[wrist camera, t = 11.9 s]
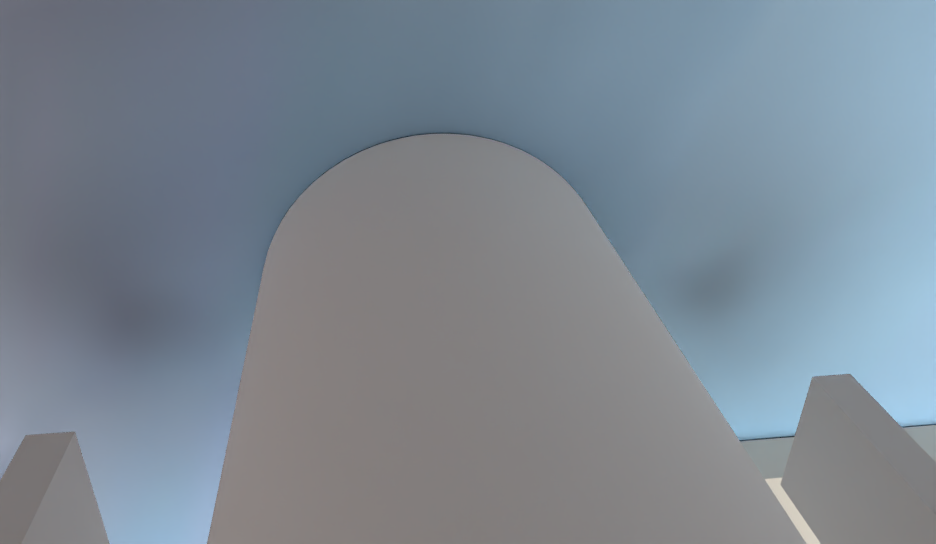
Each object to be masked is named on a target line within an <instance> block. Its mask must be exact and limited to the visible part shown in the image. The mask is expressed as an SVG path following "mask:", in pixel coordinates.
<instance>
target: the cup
mask: <svg viewBox="0 0 936 544" xmlns="http://www.w3.org/2000/svg"><path fill="white" fill-rule="evenodd" d="M207 544H806V542H805V541H804V539H803V537H802V536H801V534H800V533H799V531H798V530H797V528H796V527H795V525H794V524H793V522H792V521H791V519H790V518H789V516H788V514H787V513H786V511H785V510H784V508H783V507H782V505H781V504H780V502H779V501H778V499H777V498H776V496H775V495H774V493H773V491H772V490H771V488H770V487H769V485H768V484H767V482H766V481H765V479H764V478H763V476H762V475H761V473H760V472H759V470H758V468H757V467H756V465H755V464H754V462H753V461H752V459H751V458H750V456H749V455H748V453H747V452H746V450H745V448H744V447H743V445H742V444H741V442H740V441H739V439H738V438H737V436H736V435H735V433H734V432H733V430H732V429H731V427H730V425H729V424H728V422H727V421H726V419H725V418H724V416H723V415H722V413H721V412H720V410H719V409H718V407H717V406H716V404H715V402H714V401H713V399H712V398H711V396H710V395H709V393H708V392H707V390H706V389H705V387H704V386H703V384H702V383H701V381H700V379H699V378H698V376H697V375H696V373H695V372H694V370H693V369H692V367H691V366H690V364H689V363H688V361H687V359H686V358H685V356H684V355H683V353H682V352H681V350H680V349H679V347H678V346H677V344H676V343H675V341H674V340H673V338H672V336H671V335H670V333H669V332H668V330H667V329H666V327H665V326H664V324H663V323H662V321H661V320H660V318H659V317H658V315H657V313H656V312H655V310H654V309H653V307H652V306H651V304H650V303H649V301H648V300H647V298H646V297H645V295H644V294H643V292H642V290H641V289H640V287H639V286H638V284H637V283H636V281H635V280H634V278H633V277H632V275H631V274H630V272H629V271H628V269H627V267H626V266H625V264H624V263H623V261H622V260H621V258H620V257H619V255H618V254H617V252H616V251H615V249H614V247H613V246H612V244H611V243H610V241H609V240H608V238H607V237H606V235H605V234H604V232H603V231H602V229H601V228H600V226H599V224H598V223H597V221H596V220H595V218H594V217H593V215H592V214H591V212H590V211H589V209H588V208H587V206H586V205H585V203H584V202H583V200H582V199H581V198H580V196H579V195H578V194H577V192H576V191H575V190H574V189H573V188H572V187H571V186H570V185H569V183H568V182H567V181H566V180H565V179H564V178H563V177H561V176H560V175H559V174H558V173H557V172H555V171H554V170H553V169H552V168H551V167H549V166H548V165H546V164H545V163H543V162H542V161H540V160H539V159H537V158H536V157H534V156H532V155H530V154H528V153H526V152H524V151H522V150H520V149H517V148H515V147H513V146H510V145H508V144H505V143H501V142H498V141H495V140H491V139H487V138H482V137H477V136H471V135H461V134H426V135H416V136H410V137H405V138H400V139H395V140H392V141H389V142H385V143H382V144H378V145H376V146H373V147H371V148H368V149H366V150H363V151H361V152H359V153H357V154H355V155H353V156H351V157H349V158H347V159H345V160H343V161H342V162H340V163H339V164H337V165H336V166H334V167H333V168H331V169H330V170H328V171H327V172H325V173H324V174H323V175H322V176H321V177H319V178H318V179H317V180H316V181H314V182H313V183H312V184H311V185H310V186H309V187H308V188H307V189H306V190H305V191H304V192H303V193H302V194H301V195H300V196H299V198H298V199H297V200H296V201H295V202H294V204H293V205H292V206H291V207H290V209H289V210H288V212H287V213H286V215H285V216H284V218H283V219H282V221H281V223H280V225H279V227H278V229H277V231H276V233H275V235H274V237H273V239H272V242H271V244H270V247H269V250H268V252H267V256H266V260H265V264H264V269H263V273H262V278H261V283H260V288H259V293H258V298H257V303H256V308H255V312H254V317H253V322H252V327H251V332H250V337H249V342H248V347H247V351H246V356H245V361H244V366H243V371H242V376H241V381H240V386H239V390H238V395H237V400H236V405H235V410H234V415H233V420H232V425H231V429H230V434H229V439H228V444H227V449H226V454H225V459H224V464H223V468H222V473H221V478H220V483H219V488H218V493H217V498H216V503H215V507H214V512H213V517H212V522H211V527H210V532H209V537H208V542H207Z"/></svg>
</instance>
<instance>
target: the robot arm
mask: <svg viewBox="0 0 936 544" xmlns="http://www.w3.org/2000/svg"><path fill="white" fill-rule="evenodd" d="M780 485H781V486H782V488H783V489H784V491H785V492H786V494H787V495H788V497H789V498H790V500H791V501H792V502H793V504H794V505H795V507H796V508H797V510H798V511H799V513H800V514H801V516H802V517H803V518H804V520H805V521H806V523H807V524H808V526H809V527H810V529H811V530H812V532H813V533H814V535H815V536H816V537H817V539H818V540H819V542H820V543H821V544H936V462H935V461H934V460H933V459H932V458H931V457H930V456H929V455H928V454H927V453H926V452H925V451H924V450H923V449H922V448H921V447H920V446H919V445H918V444H917V443H916V441H915V440H914V439H913V438H912V437H911V436H910V435H909V434H908V433H907V432H906V431H905V430H904V429H903V428H902V427H901V426H900V425H899V424H898V423H897V422H896V421H895V420H894V419H893V418H892V417H891V416H890V415H889V414H888V413H887V412H886V410H885V409H884V408H883V407H882V406H881V405H880V404H879V403H878V402H877V401H876V400H875V399H874V398H873V397H872V396H871V395H870V394H869V393H868V392H867V391H866V390H865V389H864V388H863V387H862V386H861V385H860V384H859V383H858V382H857V381H856V379H855V378H854V377H853V376H852V375H851V374H842V375H828V376H815V377H812V380H811V383H810V387H809V390H808V393H807V397H806V400H805V403H804V407H803V410H802V413H801V417H800V420H799V423H798V427H797V430H796V434H795V437H794V440H793V444H792V447H791V450H790V454H789V457H788V460H787V464H786V467H785V470H784V474H783V477H782V481H781V484H780ZM0 544H110V543H109V540H108V537H107V534H106V530H105V527H104V524H103V521H102V517H101V514H100V511H99V508H98V505H97V501H96V498H95V495H94V492H93V488H92V485H91V482H90V479H89V475H88V472H87V469H86V466H85V462H84V459H83V456H82V453H81V449H80V446H79V443H78V440H77V436H76V433H75V432H62V433H49V434H36V435H26V436H25V437H24V439H23V441H22V443H21V445H20V446H19V448H18V450H17V452H16V453H15V455H14V457H13V459H12V461H11V462H10V464H9V466H8V468H7V469H6V471H5V473H4V475H3V477H2V478H1V480H0Z"/></svg>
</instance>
